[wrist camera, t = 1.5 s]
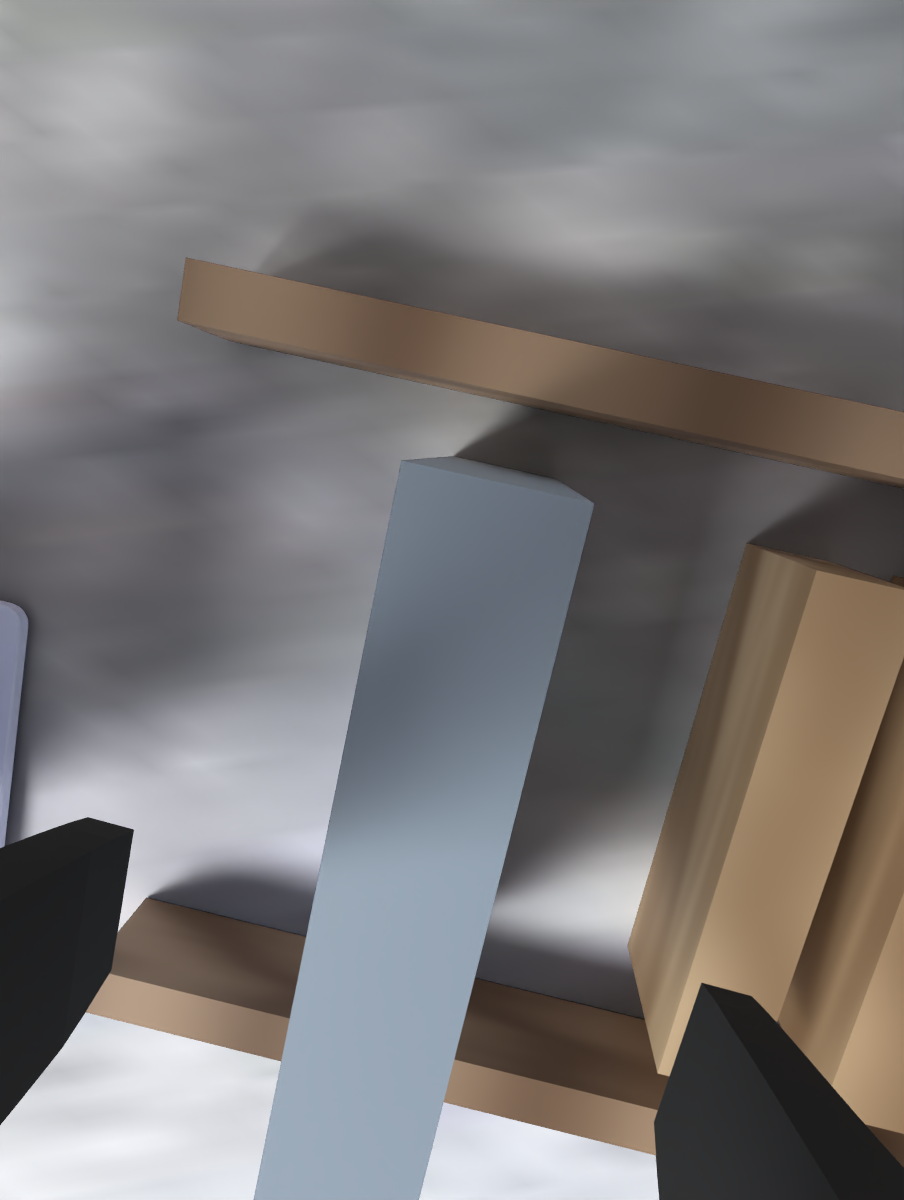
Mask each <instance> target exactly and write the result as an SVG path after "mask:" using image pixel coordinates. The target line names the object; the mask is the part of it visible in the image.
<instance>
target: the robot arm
mask: <svg viewBox="0 0 904 1200" xmlns="http://www.w3.org/2000/svg"><path fill="white" fill-rule="evenodd" d="M27 634H28V618H27V616H26V614H25V612H24V611H23V610H22V609H21V608H20V607H19V606H17V605H15V604H13V603H9V602H5V601H1V600H0V1125H1V1124H2V1122H3V1121H4V1120H5V1119H6V1117H7V1116H8V1115H9V1114H10V1112H11V1111H12V1110H13V1109H14V1108H15V1106H16V1105H17V1104H18V1103H19V1101H20V1100H21V1099H22V1098H23V1096H24V1095H25V1094H26V1093H27V1091H28V1090H29V1089H30V1088H31V1086H32V1085H33V1084H34V1083H35V1081H36V1080H37V1079H38V1078H39V1076H40V1075H41V1074H42V1073H43V1071H44V1070H45V1069H46V1068H47V1066H48V1065H49V1064H50V1063H51V1061H52V1060H53V1059H54V1057H55V1056H56V1055H57V1054H58V1052H59V1051H60V1050H61V1049H62V1047H63V1046H64V1044H65V1043H66V1041H67V1040H68V1038H69V1037H70V1035H71V1034H72V1032H73V1030H74V1029H75V1027H76V1026H77V1024H78V1023H79V1021H80V1020H81V1018H82V1017H83V1015H84V1014H85V1012H86V1011H87V1009H88V1007H89V1006H90V1004H91V1002H92V1001H93V999H94V998H95V996H96V994H97V993H98V991H99V990H100V988H101V986H102V985H103V983H104V982H105V980H106V978H107V977H108V975H109V973H110V972H111V970H112V964H113V957H114V951H115V945H116V938H117V932H118V926H119V920H120V913H121V907H122V901H123V894H124V888H125V882H126V876H127V869H128V863H129V857H130V850H131V844H132V838H133V832H134V830H133V829H130V828H126V827H122V826H118V825H115V824H111V823H107V822H104V821H100V820H96V819H92V818H89V817H87V818H84V819H81V820H77V821H74V822H71V823H68V824H65V825H62V826H59V827H56V828H53V829H50V830H47V831H45V832H42V833H39V834H36V835H34V836H31V837H28V838H26V839H23V840H20V841H18V842H15V843H12V844H10V845H7V846H5V836H6V827H7V818H8V809H9V800H10V790H11V781H12V772H13V763H14V754H15V744H16V735H17V726H18V717H19V708H20V698H21V689H22V680H23V671H24V662H25V652H26V643H27ZM654 1132H655V1147H656V1163H657V1177H658V1189H659V1200H904V1167H903V1166H902V1165H901V1164H900V1163H899V1162H898V1161H897V1160H896V1158H895V1157H894V1156H893V1155H892V1154H891V1153H890V1152H889V1151H888V1149H887V1148H886V1147H885V1146H884V1145H883V1144H882V1143H881V1142H880V1141H879V1139H878V1138H877V1137H876V1136H875V1135H874V1134H873V1133H872V1131H871V1130H870V1129H869V1128H868V1127H867V1126H866V1125H865V1124H864V1122H863V1121H862V1120H861V1119H860V1118H859V1117H858V1116H857V1114H856V1113H855V1112H854V1111H853V1110H852V1109H851V1108H850V1106H849V1105H848V1104H847V1103H846V1102H845V1101H844V1099H843V1098H842V1097H841V1096H840V1095H839V1094H838V1093H837V1091H836V1090H835V1089H834V1088H833V1087H832V1086H831V1084H830V1083H829V1082H828V1081H827V1080H826V1079H825V1077H824V1076H823V1075H822V1074H821V1073H820V1072H819V1071H818V1069H817V1068H816V1067H815V1066H814V1065H813V1064H812V1062H811V1061H810V1060H809V1059H808V1058H807V1057H806V1055H805V1054H804V1053H803V1052H802V1051H801V1050H800V1048H799V1047H798V1046H797V1045H796V1044H795V1043H794V1042H793V1040H792V1039H791V1038H790V1037H789V1036H788V1035H787V1034H786V1032H785V1031H784V1030H783V1029H782V1028H781V1027H780V1026H779V1024H778V1023H777V1022H776V1021H775V1020H774V1019H773V1018H772V1017H771V1016H770V1014H769V1013H768V1012H767V1011H766V1010H765V1009H764V1008H763V1007H762V1006H761V1005H760V1004H759V1003H758V1002H757V1001H756V1000H755V999H754V998H753V997H752V996H750V995H746V994H742V993H739V992H735V991H731V990H727V989H724V988H720V987H716V986H713V985H709V984H705V983H701V985H700V988H699V991H698V994H697V997H696V1000H695V1003H694V1006H693V1009H692V1012H691V1015H690V1018H689V1021H688V1023H687V1026H686V1029H685V1032H684V1035H683V1038H682V1041H681V1044H680V1047H679V1050H678V1053H677V1056H676V1059H675V1062H674V1064H673V1067H672V1070H671V1073H670V1076H669V1079H668V1082H667V1085H666V1088H665V1091H664V1094H663V1097H662V1100H661V1103H660V1105H659V1108H658V1111H657V1114H656V1117H655V1120H654Z"/></svg>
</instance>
